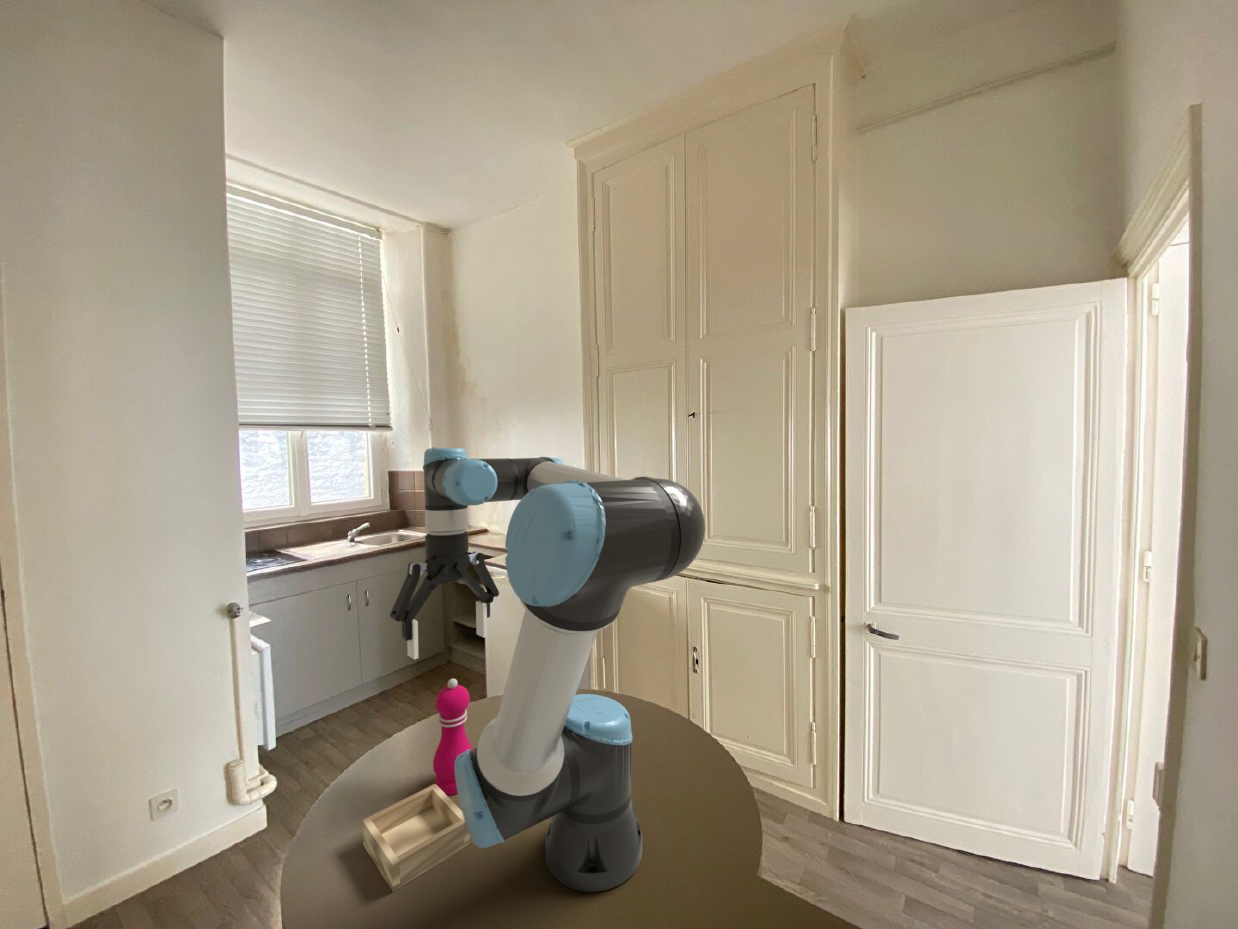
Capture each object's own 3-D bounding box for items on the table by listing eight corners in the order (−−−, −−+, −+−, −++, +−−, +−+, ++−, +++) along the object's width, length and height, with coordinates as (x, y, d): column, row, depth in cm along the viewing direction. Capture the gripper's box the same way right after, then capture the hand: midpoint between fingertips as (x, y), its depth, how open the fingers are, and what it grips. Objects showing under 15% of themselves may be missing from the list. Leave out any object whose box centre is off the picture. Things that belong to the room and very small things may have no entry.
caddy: (470, 843, 79) (469, 819, 79) (393, 892, 71) (392, 865, 71) (435, 805, 88) (435, 783, 87) (362, 845, 79) (362, 820, 79)
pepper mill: (461, 800, 89) (460, 690, 88) (425, 794, 90) (423, 686, 90) (480, 773, 96) (479, 672, 95) (446, 768, 98) (445, 668, 97)
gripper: (494, 522, 103) (496, 623, 104) (367, 538, 85) (370, 660, 86) (515, 525, 98) (517, 632, 99) (385, 543, 80) (388, 674, 81)
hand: (449, 645), depth 92 cm, fingers open, 13 cm apart
